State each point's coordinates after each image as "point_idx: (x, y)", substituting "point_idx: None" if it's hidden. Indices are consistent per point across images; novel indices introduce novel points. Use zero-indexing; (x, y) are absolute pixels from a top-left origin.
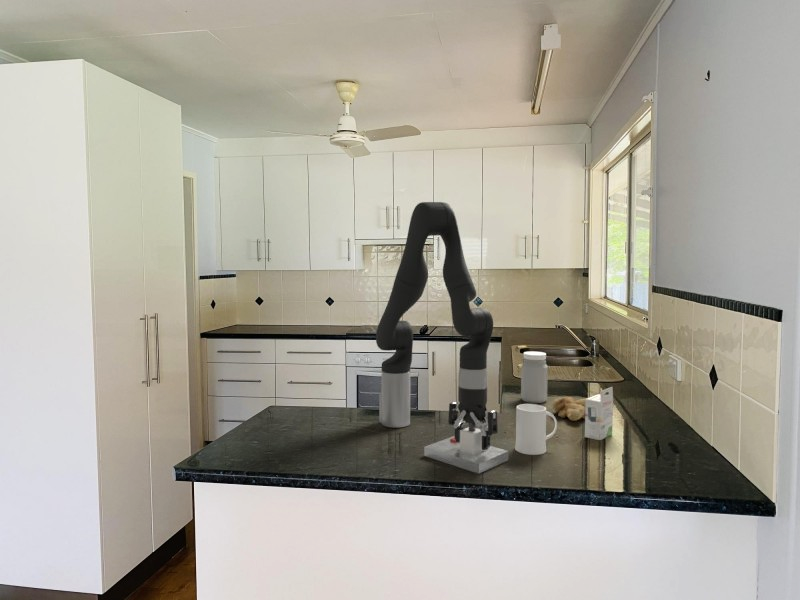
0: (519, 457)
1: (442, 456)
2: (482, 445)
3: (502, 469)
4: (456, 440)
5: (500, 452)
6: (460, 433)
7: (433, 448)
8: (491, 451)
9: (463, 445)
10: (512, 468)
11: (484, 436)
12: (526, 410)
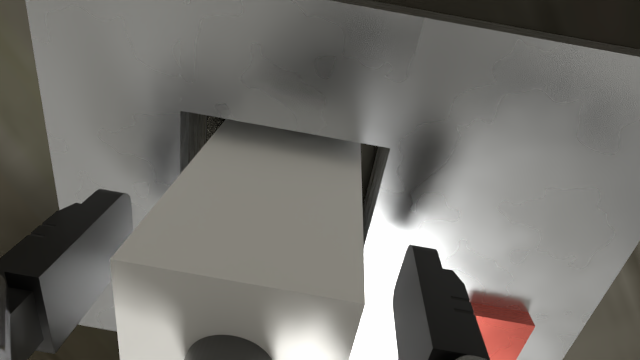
0: (99, 338)
1: (480, 24)
2: (95, 209)
3: (31, 135)
4: (428, 252)
5: None
6: (355, 272)
7: (626, 82)
8: None
9: (315, 188)
10: (5, 184)
11: (8, 278)
12: None
